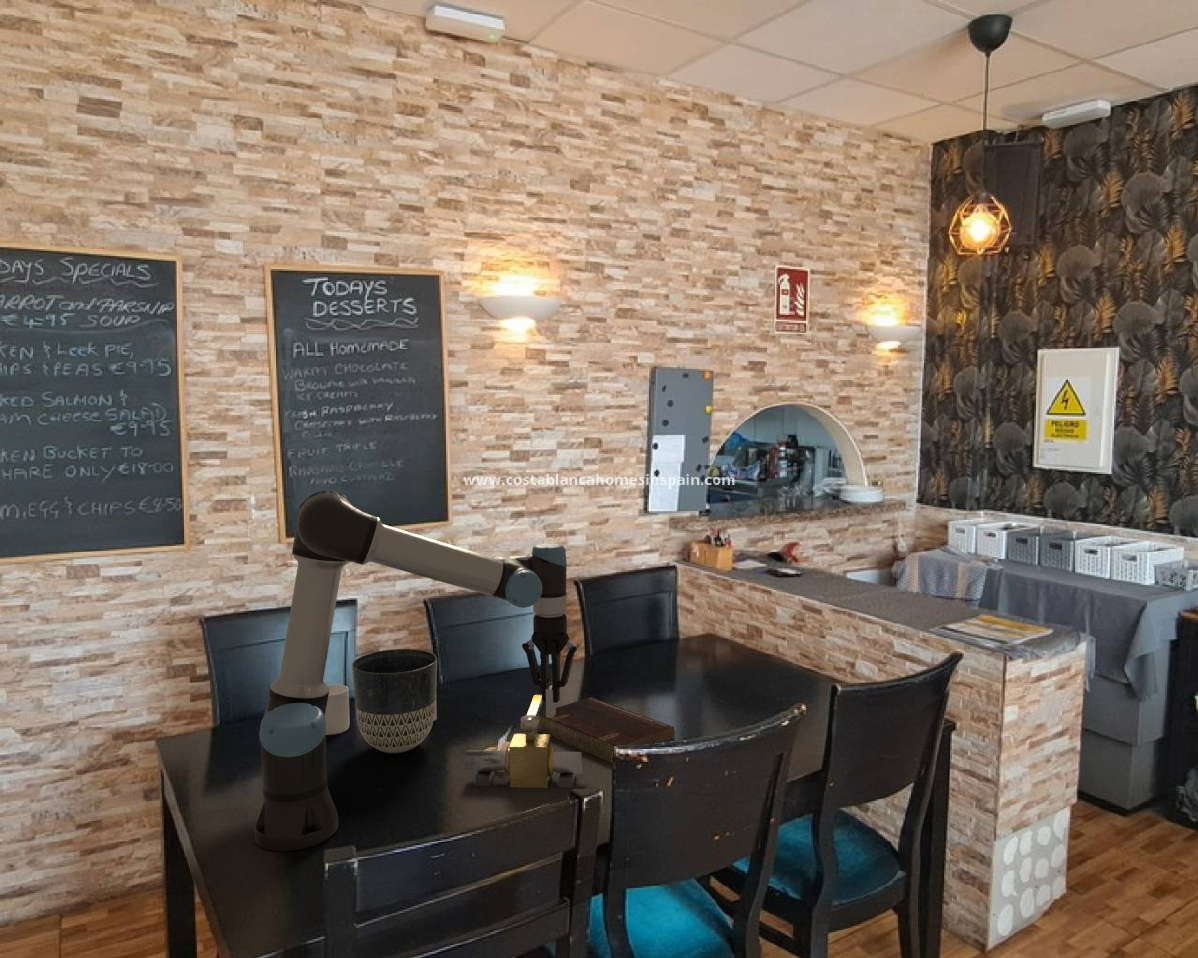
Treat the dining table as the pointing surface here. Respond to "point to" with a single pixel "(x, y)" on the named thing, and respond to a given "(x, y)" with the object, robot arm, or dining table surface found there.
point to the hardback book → (602, 727)
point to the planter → (395, 697)
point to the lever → (532, 715)
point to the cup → (337, 710)
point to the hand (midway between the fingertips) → (550, 715)
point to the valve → (525, 762)
